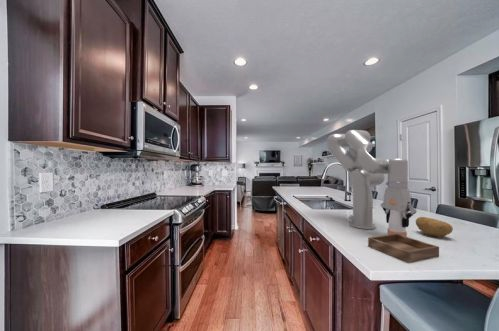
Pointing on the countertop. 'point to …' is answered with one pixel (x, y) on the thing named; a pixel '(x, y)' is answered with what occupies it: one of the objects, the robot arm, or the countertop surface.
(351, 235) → the countertop surface
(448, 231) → the potato
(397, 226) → the pepper shaker
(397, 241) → the walnut tray
